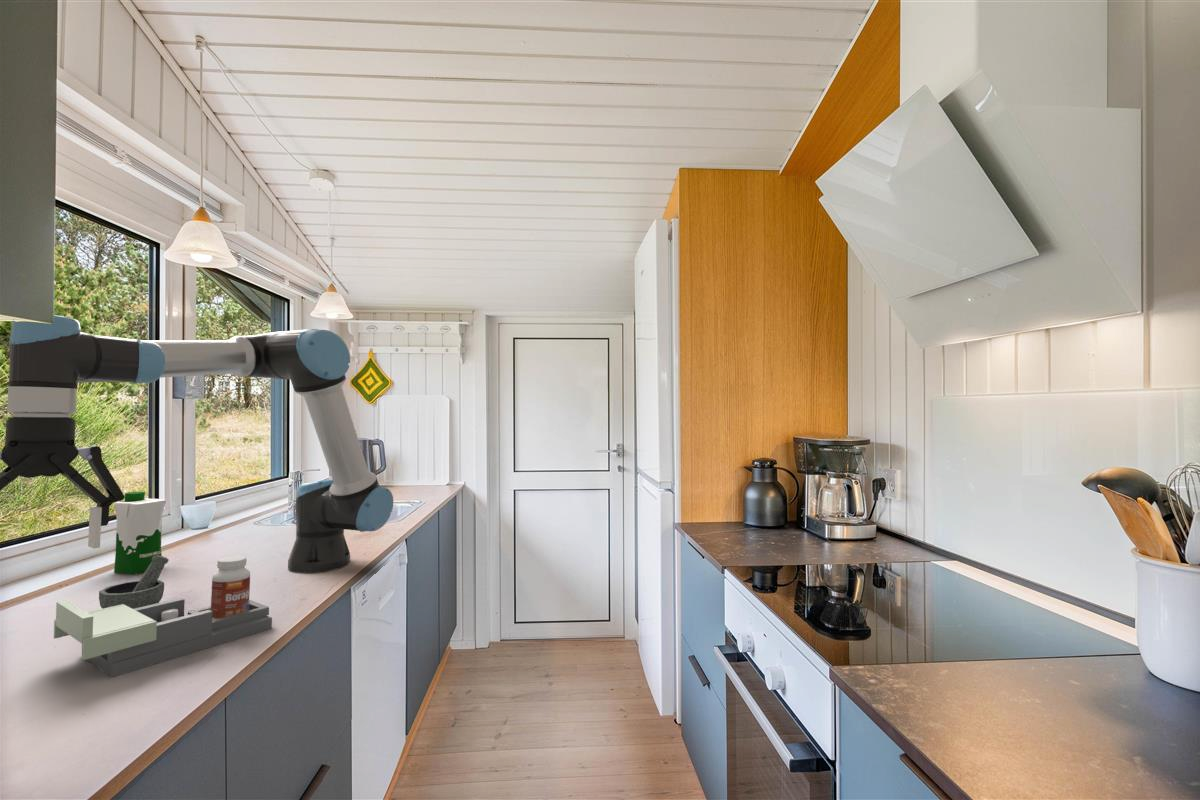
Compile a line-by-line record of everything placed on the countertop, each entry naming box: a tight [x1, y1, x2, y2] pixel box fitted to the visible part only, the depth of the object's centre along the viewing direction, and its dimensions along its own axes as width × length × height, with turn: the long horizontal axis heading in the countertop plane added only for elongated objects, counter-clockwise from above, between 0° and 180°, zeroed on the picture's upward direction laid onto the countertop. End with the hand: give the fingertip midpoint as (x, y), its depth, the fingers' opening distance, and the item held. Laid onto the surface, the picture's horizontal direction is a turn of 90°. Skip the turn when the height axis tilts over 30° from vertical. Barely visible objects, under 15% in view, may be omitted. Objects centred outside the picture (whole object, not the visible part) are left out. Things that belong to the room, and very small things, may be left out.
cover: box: [53, 599, 157, 661], centre depth 91 cm, size 9×15×6 cm, turn 57°
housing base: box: [81, 597, 273, 678], centre depth 101 cm, size 24×14×6 cm, turn 147°
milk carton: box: [113, 491, 167, 575], centre depth 145 cm, size 9×9×20 cm
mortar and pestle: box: [98, 555, 170, 609], centre depth 110 cm, size 11×9×12 cm
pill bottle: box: [210, 555, 251, 619], centre depth 107 cm, size 6×6×11 cm
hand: (35, 555), depth 84 cm, fingers open, 13 cm apart
